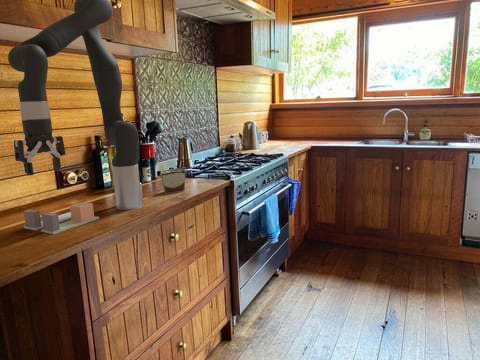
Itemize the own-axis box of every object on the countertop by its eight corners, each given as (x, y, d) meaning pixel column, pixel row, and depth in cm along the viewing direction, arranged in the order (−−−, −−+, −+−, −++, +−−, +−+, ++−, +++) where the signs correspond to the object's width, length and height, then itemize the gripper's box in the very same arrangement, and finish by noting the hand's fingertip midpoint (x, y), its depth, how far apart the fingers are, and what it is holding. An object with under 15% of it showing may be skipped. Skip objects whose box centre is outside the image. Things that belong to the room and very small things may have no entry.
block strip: (87, 216, 128) (85, 201, 127) (99, 218, 126) (97, 202, 125) (41, 231, 114) (38, 214, 113) (53, 234, 111) (51, 216, 110)
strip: (70, 213, 133) (68, 198, 132) (81, 215, 130) (79, 200, 129) (23, 228, 118) (21, 211, 117) (35, 230, 115) (32, 213, 114)
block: (84, 216, 127) (82, 202, 126) (94, 217, 124) (92, 203, 123) (71, 220, 123) (69, 205, 122) (81, 222, 120) (80, 207, 119)
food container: (182, 188, 175) (180, 167, 173) (187, 190, 170) (186, 169, 168) (157, 192, 168) (155, 170, 166) (162, 194, 163) (160, 172, 161)
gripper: (50, 116, 115) (57, 168, 118) (3, 119, 102) (12, 176, 106) (66, 116, 111) (73, 169, 114) (19, 118, 99) (28, 178, 102)
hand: (44, 172), depth 110 cm, fingers open, 8 cm apart
